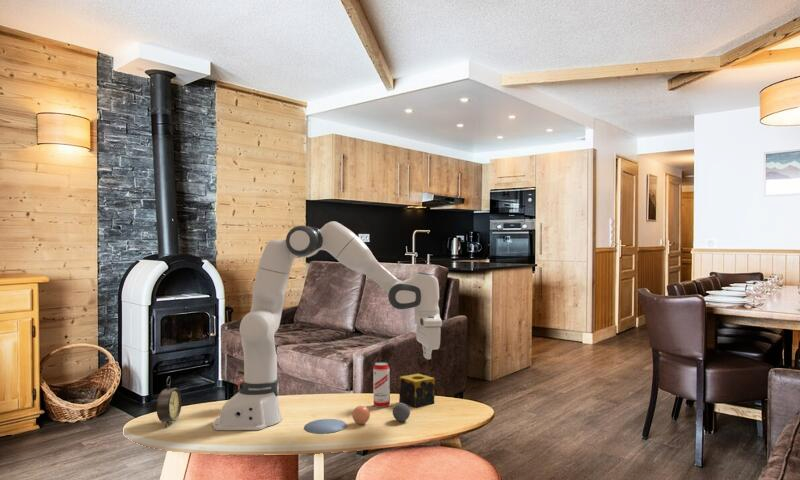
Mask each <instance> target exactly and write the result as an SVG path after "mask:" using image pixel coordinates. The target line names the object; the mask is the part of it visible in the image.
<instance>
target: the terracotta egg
mask: <svg viewBox="0 0 800 480" xmlns="http://www.w3.org/2000/svg"><path fill="white" fill-rule="evenodd" d="M370 416H371V413H370V409H369V408H368V407H367V406H365V405H357V406H355V408H354V409H353V411H352V415H351V417H352V421H354V422H355V423H356V424H357V425H364V424H366V423H367V422H368V421H369V420H370Z"/></svg>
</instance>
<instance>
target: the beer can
mask: <svg viewBox="0 0 800 480" xmlns="http://www.w3.org/2000/svg"><path fill="white" fill-rule="evenodd" d="M372 371H373V374H372V375H373V376H372V377H373V378H372V379H373V382H372V383H373V384H372V385H373V387H372V389H373V393H372V395H373V396H372V399H373V405H374V406H375V408H378V409H382V408H383V409H384V408H388V407H389V405H390V404H391V395H390V394H391V393H390V392H391V388H390V387H391V386H390V385H391V381H390V380H391V378H390V377H391V376H390V373H391V372H390V366H389V363H388V362H384V361H383V362H381V361H380V362H375V363H374V366H373V370H372Z"/></svg>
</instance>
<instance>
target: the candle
mask: <svg viewBox="0 0 800 480" xmlns="http://www.w3.org/2000/svg"><path fill="white" fill-rule="evenodd" d="M399 385H400V386H399V388H400V389H399V392H398V394H399V398H398V402H399V403H404V404H406V405H407V406H408V407H410V408H411V407H412V408H413V409H415V408H416V409H417V408H421V407H425V406H430V405H434V404H435V378H434V377H431V376H429V375H425V374H421V373H414V374H409V375H408V374H407V375H401V376H399Z"/></svg>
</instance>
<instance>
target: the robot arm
mask: <svg viewBox="0 0 800 480" xmlns="http://www.w3.org/2000/svg"><path fill="white" fill-rule="evenodd" d="M320 251H326V252H327V253H329V254H330V255H331V257H333V258H334V259H335V260H337V261H338V262H339V263H340V264H341V265H343V266H345V267H346V268H348V269H350V270H351V271H352V272H353V271H354V272H356V273H357V272H358V273H360V274H363V275H364V276H367V277H368V278H370V279H371V280H372V281H373V282H374V283H375V284H377V285H378V286H379V287H380V288H381V289H383V290H384V292H385V293H386V294H387V296H388V297H387V298H388V301H389V302H388V303H389V304H390V305H391V306H392V307H393V308H394V309H396V310H400V311H404V310H407V309H411V308H413V309H414V311H413V312H414V324H415V325H416V328H415V329H416V330H415V331H416V335H415V337H416V341H417V342H418V343H419V344H421V345H422V351H423V357H424V358H425V359H426V360H432V353H433V351H434V350H439V349H440V346H441V330H442V329H441V327H443V320H442V318H441V315H440V307H439V300H440V286H439V279H438V277H437V276H435V275H434V274H431V273H427V272H416V274H414V275H413V276H411V277H409V278H407V279H405V280H403V279H399V278H398V277H396V276H395V275H393V274H392V273H391V272H390V271H389V270H388V269H386V267H384V266H383V265H382V264H381V263H380V262H379V261H378V260H377V259H376V257H375V256H374V255H373V252H372V251H371V249H370V248H369V247H368V246H367V244H366V243H365V242H364V241H363V240H362V238H360V237H359V236H358V235H357V234H356V233H354V232H353V231H352V230H351V229H349V228H347V227H346V226H344V225H343V224H342V223H339V222H338V221H333V220H332V221H329V222H327V223H324V225H323V226H322V227H321V228H320V229H319V227H318V228H317V227H315V226H314V227H313V226H309V225H297V226H294V227H293V228H291V229H290V230H289V231H288V232H287V235H286V237H285V239H280V238H279V239H277V238H276V239H275V238H274V239H271V240H269V241H268V242H267V243H266V245H265V247H264V249H263V251H262V254H261V257H260V259H259V264H258V266H257V271H256V276H255V278H254V281H253V287H252V301H251V308H250V311H249V312H248V313H246V314H245V315H244V316H243V318H242V319H241V321H240V324H239V334H240V337H241V339H240V340H241V345H242V354H243V361H244V362H243V367H244V374H243V378H244V379H239V380H238V382H237V393H235V394H234V395H233V396H232V397H230V399H228V400H227V401H225V403H224V404H223V406H222V407H221V410H220V414H219V415H220V416H218V417H216V418H215V420H214V421H213V424H212V428H213V430H215V429H216V430H215V431H259V430H262V429H265V428H266V427H270V426H273V425H277V424H278V423H280V422H281V421H282V415H281V412H280V406H279V397H278V395H279V386H280V385H279V379H278V355H277V351H276V342H275V334H276V333H277V332H278V329H279V328H280V326H281V325H280V324H281V320H282V313H283V307H284V301H285V294H286V290H287V286H288V281H289V277H290V273H291V269H292V265H293V262H294V261H295V259H296V258H297V259H300V258H310V257H315V256H316V255H317V254H318V253H319V252H320Z"/></svg>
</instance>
